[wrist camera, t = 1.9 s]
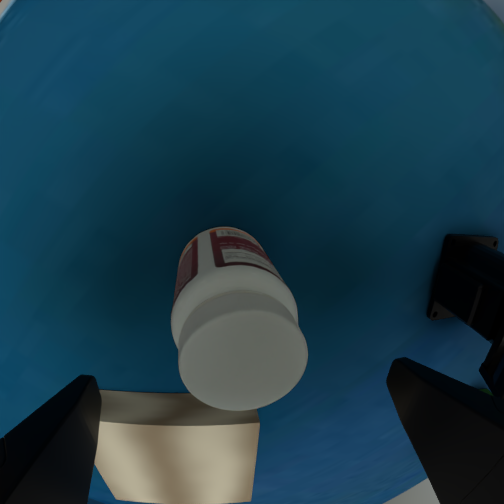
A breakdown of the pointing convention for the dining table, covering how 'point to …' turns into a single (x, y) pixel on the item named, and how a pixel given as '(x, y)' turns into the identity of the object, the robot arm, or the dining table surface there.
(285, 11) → the dining table surface
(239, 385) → the pill bottle
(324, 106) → the dining table surface
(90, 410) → the robot arm
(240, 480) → the birch block
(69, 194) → the dining table surface
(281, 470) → the dining table surface
